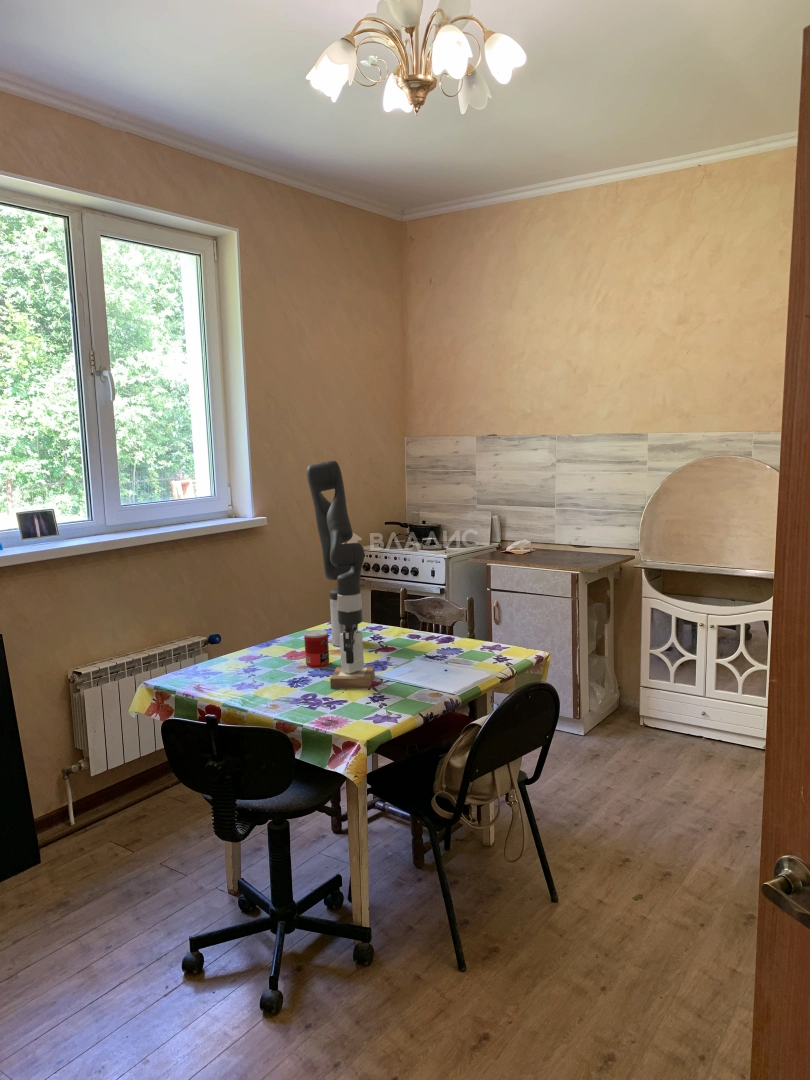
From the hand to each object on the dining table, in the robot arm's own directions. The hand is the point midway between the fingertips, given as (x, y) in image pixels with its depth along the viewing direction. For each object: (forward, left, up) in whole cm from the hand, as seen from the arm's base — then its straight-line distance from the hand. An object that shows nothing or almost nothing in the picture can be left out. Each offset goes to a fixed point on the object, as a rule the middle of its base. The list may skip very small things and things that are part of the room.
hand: (352, 659), depth 231 cm
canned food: (-18, -15, -7) cm, 25 cm away
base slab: (0, 0, -7) cm, 7 cm away
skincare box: (0, 0, -4) cm, 4 cm away
